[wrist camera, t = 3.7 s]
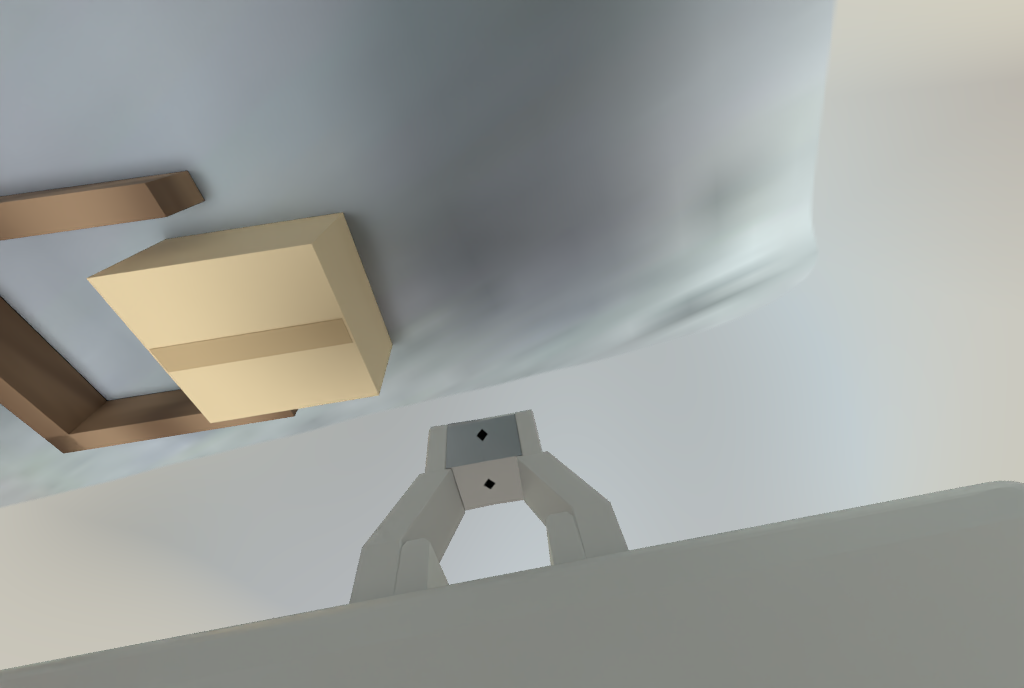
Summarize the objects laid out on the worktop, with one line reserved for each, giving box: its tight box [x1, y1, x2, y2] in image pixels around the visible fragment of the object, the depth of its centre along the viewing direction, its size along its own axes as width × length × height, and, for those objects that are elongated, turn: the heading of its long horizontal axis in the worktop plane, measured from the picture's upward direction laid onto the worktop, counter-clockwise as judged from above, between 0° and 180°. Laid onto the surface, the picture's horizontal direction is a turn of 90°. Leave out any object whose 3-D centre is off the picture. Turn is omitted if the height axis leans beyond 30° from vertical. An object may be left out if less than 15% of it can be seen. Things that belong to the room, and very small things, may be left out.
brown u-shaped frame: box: [0, 171, 298, 453], centre depth 17 cm, size 12×12×2 cm
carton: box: [87, 212, 392, 423], centre depth 17 cm, size 8×8×4 cm
